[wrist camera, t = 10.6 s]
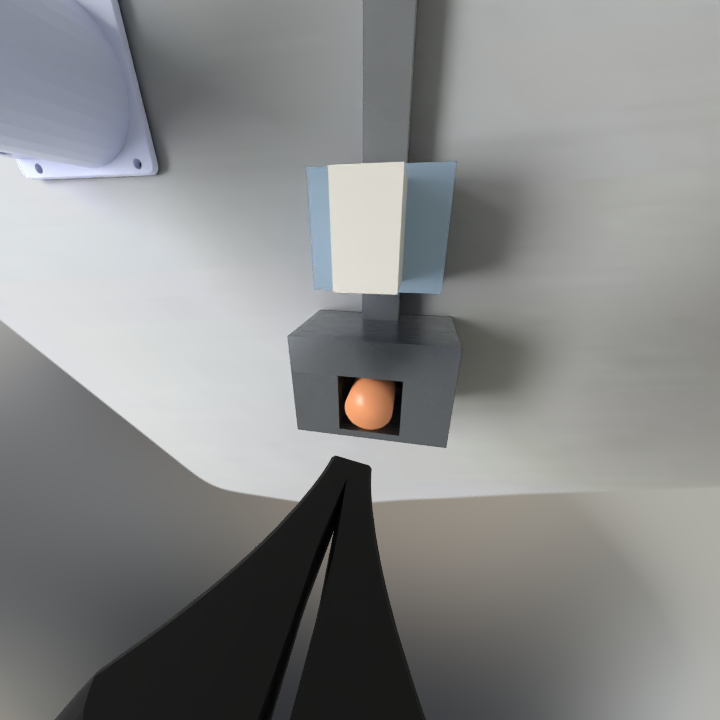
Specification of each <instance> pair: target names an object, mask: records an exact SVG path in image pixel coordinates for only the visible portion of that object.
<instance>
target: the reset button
mask: <svg viewBox="0 0 720 720" xmlns="http://www.w3.org/2000/svg"><path fill="white" fill-rule="evenodd" d="M396 386H397V381H390V380H379V379H368V378H357V377H356V379H355V381H354V383H353V385H352V388H351V390H350V392H349V395H348V397H347V399H346V402H345V412H346V414H347V416H348V418H349V419H350V420H351V421H352V422H353V423H354V424H355V425H357V426H359V427H361V428H364V429H371V430H372V429H379V428H381V427H383V426H385V425H386V424H387V423H388V422H389V421H390V419H391V417H392V413H393V406H394V399H395V393H396Z"/></svg>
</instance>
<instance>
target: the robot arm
mask: <svg viewBox="0 0 720 720" xmlns="http://www.w3.org/2000/svg"><path fill="white" fill-rule="evenodd" d="M0 156H4V157H10V158H15V159H16V161H17V163H18V166H19V168H20V170H21V172H22V174H23V175H24V176H25V177H27V178H28V179H34V180H46V179H71V178H96V177H122V176H147V175H155V174H156V173H157V172H158V163H157V159H156V155H155V150H154V146H153V142H152V138H151V134H150V130H149V126H148V122H147V118H146V114H145V110H144V106H143V102H142V98H141V94H140V90H139V85H138V81H137V77H136V73H135V69H134V65H133V61H132V57H131V53H130V49H129V45H128V41H127V37H126V33H125V29H124V25H123V20H122V16H121V12H120V8H119V4H118V0H0ZM140 161H141V164H142V167H140V164H139V163H140ZM371 470H372V469H371V467H370V466H369V465H365V464H362V463H359V462H355V461H352V460H349V459H345V458H342V457H339V456H334V457H332V458H331V460H330V462H329V464H328V465H327V467H326V468H325V470H324V471H323V473H322V474H321V476H320V477H319V478H318V480H317V481H316V482H315V484H314V485H313V486H312V487H311V489H310V490H309V491H308V492H307V494H306V495H305V496H304V497H303V498H302V500H301V501H300V502H299V503H298V505H296V507H295V508H294V509H293V510H292V511H291V512H290V513H289V514H288V515H287V516H286V517H285V519H284V520H283V521H282V522H281V523H280V524H279V525H278V526H277V527H276V528H275V529H274V530H273V531H272V532H271V533H270V534H269V535H268V536H267V537H266V538H265V539H264V540H263V541H262V542H261V543H260V544H259V545H258V546H257V547H256V548H255V549H254V550H253V551H251V552H250V554H248V555H247V556H246V557H245V558H244V559H243V560H241V561H240V562H239V563H238V564H237V565H236V566H235V567H234V568H233V569H231V570H230V571H229V572H228V573H227V574H226V575H224V576H223V577H222V578H221V579H220V580H219V581H218V582H216V583H215V584H214V585H213V586H211V587H210V588H209V589H208V590H206V591H205V592H204V593H203V594H201V595H200V596H199V597H197V599H195V600H194V601H193V602H191V603H190V604H189V605H187V606H186V607H185V608H183V609H182V610H181V611H180V612H178V613H177V614H176V615H175V616H173V617H172V618H171V619H169V620H168V621H167V622H165V623H164V624H163V625H161V626H160V627H159V628H157V629H156V630H155V631H153V632H152V633H150V634H149V635H148V636H146V637H145V638H143V639H142V640H141V641H139V642H138V643H136V644H135V645H134V646H133V647H131V648H129V649H128V650H127V651H125V652H124V653H122V654H121V655H120V656H118V657H117V658H116V659H114V660H113V661H111V662H110V663H108V664H107V665H106V666H104V667H103V668H102V669H100V670H99V671H98V672H97V673H96V674H95V675H94V676H93V677H92V678H91V679H90V680H89V681H88V682H87V683H86V684H85V686H84V687H83V688H82V689H81V690H80V691H79V692H78V693H77V694H76V695H75V697H74V698H73V699H72V700H71V701H70V702H69V704H68V705H67V706H66V707H65V708H64V709H63V711H62V712H61V713H60V714H59V715H58V716H57V718H56V719H55V720H272V717H273V713H274V710H275V706H276V703H277V700H278V696H279V693H280V690H281V686H282V683H283V679H284V676H285V672H286V669H287V666H288V662H289V659H290V656H291V652H292V649H293V646H294V642H295V639H296V635H297V632H298V629H299V625H300V622H301V619H302V616H303V612H304V610H305V607H306V604H307V601H308V598H309V596H310V593H311V590H312V588H313V585H314V582H315V579H316V577H317V574H318V572H319V569H320V566H321V563H322V561H323V558H324V555H325V553H326V550H327V547H328V545H329V542H330V539H331V537H332V534H333V538H332V543H331V548H330V553H329V558H328V564H327V569H326V574H325V580H324V585H323V589H322V595H321V600H320V606H319V610H318V614H317V619H316V623H315V627H314V631H313V634H312V638H311V642H310V646H309V650H308V653H307V657H306V661H305V665H304V669H303V672H302V676H301V680H300V684H299V687H298V692H297V695H296V699H295V703H294V706H293V711H292V714H291V718H290V720H426V719H425V716H424V713H423V710H422V707H421V704H420V701H419V698H418V695H417V692H416V689H415V686H414V683H413V680H412V677H411V674H410V670H409V667H408V664H407V661H406V657H405V654H404V651H403V648H402V644H401V641H400V638H399V635H398V631H397V628H396V624H395V620H394V616H393V613H392V609H391V606H390V601H389V597H388V593H387V589H386V585H385V580H384V576H383V571H382V567H381V561H380V556H379V551H378V546H377V539H376V533H375V526H374V518H373V511H372V498H371ZM333 531H334V533H333Z"/></svg>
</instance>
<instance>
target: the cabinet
mask: <svg viewBox="0 0 720 720" xmlns="http://www.w3.org/2000/svg"><path fill="white" fill-rule="evenodd" d="M288 345H289V354H290V363H291V372H292V381H293V390H294V399H295V408H296V417H297V425H298V429H299V430H307V431H315V432H323V433H331V434H339V435H347V436H355V437H363V438H371V439H379V440H387V441H395V442H403V443H411V444H419V445H427V446H435V447H443V448H446V446H447V440H448V433H449V427H450V421H451V415H452V408H453V402H454V396H455V389H456V383H457V377H458V371H459V364H460V358H461V352H462V346H461V343H460V341H459V338H458V335H457V332H456V330H455V327H454V324H453V321H452V319H451V316H430V315H410V314H399V318H398V321H388V320H370V319H362V312H349V311H329V310H320V311H318V312H317V313H316V314H315V315H313V316H312V317H311V318H310V319H308V320H307V321H306V322H305V323H303V324H302V325H301V326H300V327H298V328H297V329H296V330H295V331H293V332H292V333H291V334H290V335H288ZM356 377H357V378H368V379H379V380H390V381H402V382H403V388H397V387H396V393H395V399H394V406H393V413H392V417H391V419H390V421H389V422H388V423H387V424H386V425H385V426H383V427H381V428H379V429H372V430H371V429H364V428H361V427H359V426H357V425H355V424H354V423H353V422H352V421H351V420H350V419H349V418H348V416H347V414H346V412H345V402H346V399H347V397H348V395H349V392H350V390H351V388H352V385H353V383H354V381H355V379H356Z"/></svg>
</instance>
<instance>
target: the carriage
mask: <svg viewBox="0 0 720 720" xmlns="http://www.w3.org/2000/svg"><path fill="white" fill-rule="evenodd" d="M456 165H457V161H446V162H421V163H404V162H385V163H361V164H337V165H328V166H323V167H306V170H307V185H308V200H309V215H310V230H311V246H312V261H313V276H314V289H318V290H333V292H339V293H365V294H392V295H397V294H398V292H400V293H428V294H441V293H442V284H443V276H444V267H445V259H446V250H447V242H448V233H449V225H450V216H451V207H452V199H453V190H454V182H455V173H456Z"/></svg>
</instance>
